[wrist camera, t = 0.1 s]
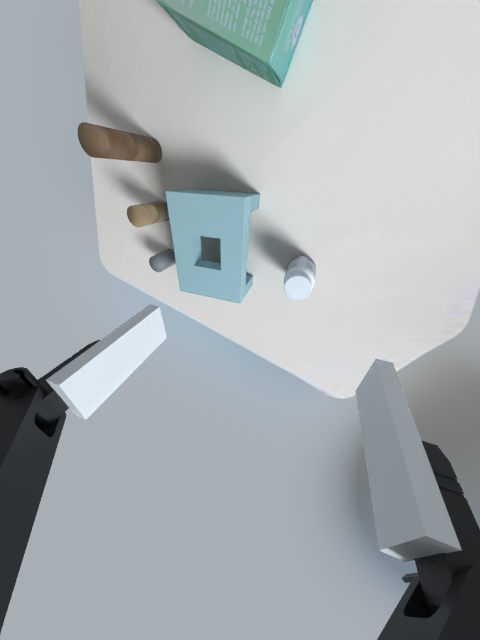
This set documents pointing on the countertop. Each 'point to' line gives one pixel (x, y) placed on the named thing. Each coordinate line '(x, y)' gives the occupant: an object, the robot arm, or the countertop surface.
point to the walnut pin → (117, 144)
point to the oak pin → (147, 213)
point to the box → (245, 31)
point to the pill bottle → (300, 278)
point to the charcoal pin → (162, 260)
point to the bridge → (217, 222)
